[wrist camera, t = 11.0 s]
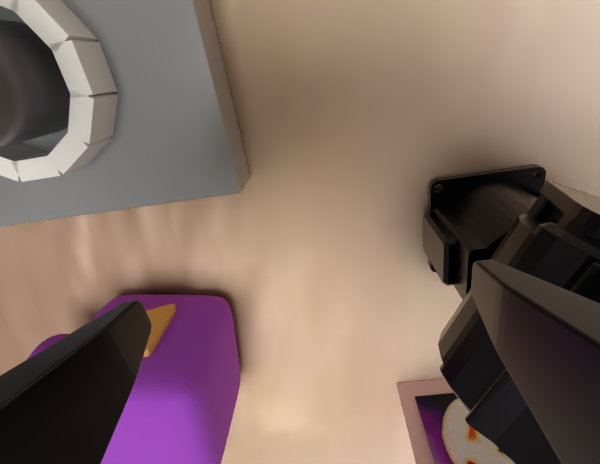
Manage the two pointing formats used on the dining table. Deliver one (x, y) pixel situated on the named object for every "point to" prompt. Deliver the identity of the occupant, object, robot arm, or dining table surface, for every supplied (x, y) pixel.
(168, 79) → the mount
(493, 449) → the purple printed box
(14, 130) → the lens
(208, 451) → the toy camera
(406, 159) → the dining table surface
